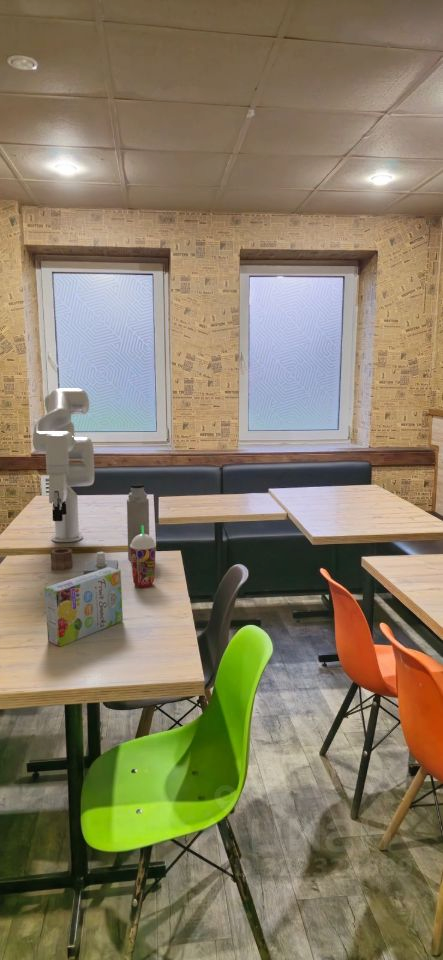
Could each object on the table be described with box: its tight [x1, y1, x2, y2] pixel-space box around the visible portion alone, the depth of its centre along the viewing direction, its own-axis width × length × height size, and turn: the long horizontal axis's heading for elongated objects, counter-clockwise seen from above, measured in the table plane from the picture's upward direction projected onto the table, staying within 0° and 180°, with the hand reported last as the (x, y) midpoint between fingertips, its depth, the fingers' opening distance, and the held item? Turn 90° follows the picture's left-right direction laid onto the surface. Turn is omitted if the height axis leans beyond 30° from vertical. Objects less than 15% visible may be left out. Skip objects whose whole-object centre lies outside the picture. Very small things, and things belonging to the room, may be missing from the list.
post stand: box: [83, 551, 119, 575], centre depth 212 cm, size 11×11×6 cm
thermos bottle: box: [126, 483, 150, 561], centre depth 223 cm, size 8×8×28 cm
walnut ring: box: [50, 547, 74, 571], centre depth 214 cm, size 7×7×6 cm
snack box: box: [44, 567, 124, 648], centre depth 161 cm, size 21×6×15 cm, turn 141°
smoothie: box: [130, 526, 157, 589], centre depth 195 cm, size 8×8×20 cm
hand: (59, 517), depth 212 cm, fingers open, 9 cm apart
